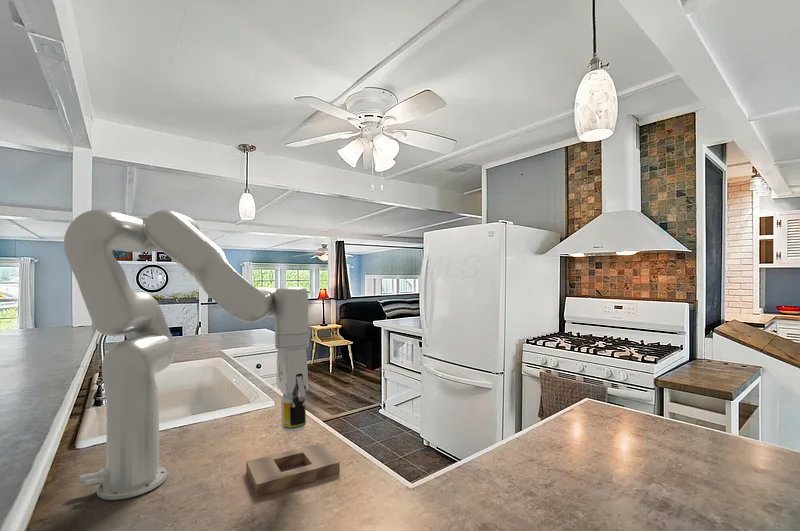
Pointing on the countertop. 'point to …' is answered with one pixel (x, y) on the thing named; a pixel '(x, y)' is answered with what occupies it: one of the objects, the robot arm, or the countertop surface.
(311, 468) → the frame
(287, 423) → the supplement bottle
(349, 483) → the countertop surface
